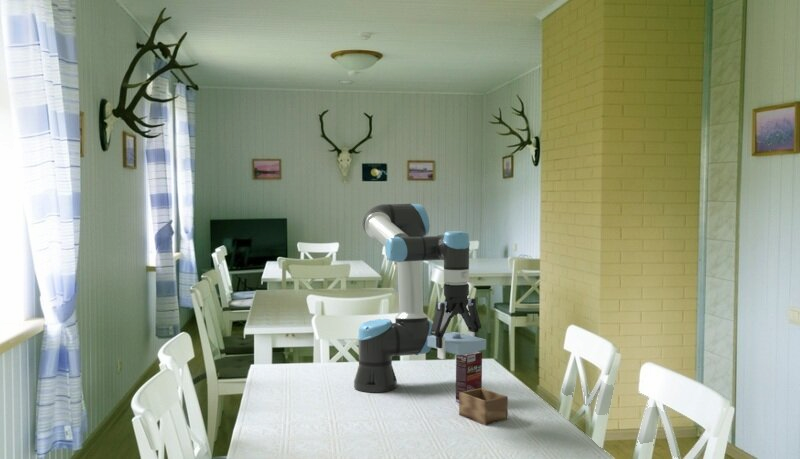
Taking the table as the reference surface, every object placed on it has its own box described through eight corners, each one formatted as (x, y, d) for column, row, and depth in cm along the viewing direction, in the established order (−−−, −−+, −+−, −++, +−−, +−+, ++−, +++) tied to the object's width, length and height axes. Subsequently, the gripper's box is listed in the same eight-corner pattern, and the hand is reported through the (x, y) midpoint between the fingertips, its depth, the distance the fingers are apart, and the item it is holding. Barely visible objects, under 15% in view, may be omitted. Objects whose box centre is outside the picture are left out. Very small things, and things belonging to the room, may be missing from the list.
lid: (427, 349, 218) (427, 333, 217) (454, 344, 224) (454, 328, 224) (458, 358, 207) (458, 341, 206) (486, 352, 213) (486, 336, 213)
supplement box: (466, 404, 232) (466, 356, 231) (455, 401, 236) (455, 354, 235) (482, 399, 239) (482, 351, 238) (471, 396, 242) (471, 349, 241)
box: (459, 415, 222) (459, 392, 221) (481, 409, 227) (481, 387, 226) (485, 425, 212) (485, 401, 212) (507, 419, 217) (507, 396, 217)
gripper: (434, 288, 204) (434, 364, 206) (493, 281, 218) (493, 352, 220) (417, 285, 210) (417, 359, 212) (476, 278, 224) (476, 347, 226)
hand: (456, 355), depth 216 cm, fingers closed on lid, 11 cm apart
